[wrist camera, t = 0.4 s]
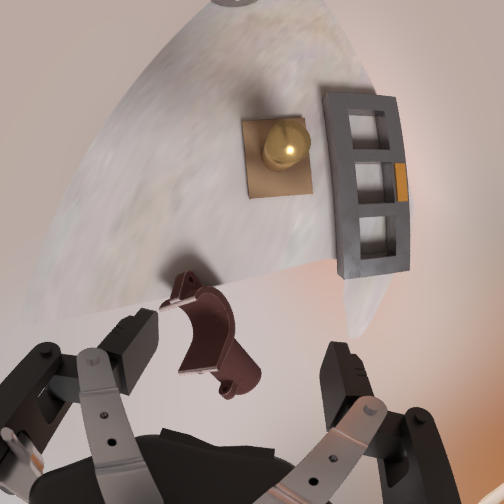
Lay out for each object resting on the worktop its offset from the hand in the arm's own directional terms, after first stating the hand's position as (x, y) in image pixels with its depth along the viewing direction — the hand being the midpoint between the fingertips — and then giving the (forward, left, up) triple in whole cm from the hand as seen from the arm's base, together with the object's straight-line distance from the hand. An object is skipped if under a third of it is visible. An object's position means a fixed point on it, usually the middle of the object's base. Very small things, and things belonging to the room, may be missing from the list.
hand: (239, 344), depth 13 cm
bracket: (+11, -6, -26) cm, 28 cm away
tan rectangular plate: (-11, +5, -25) cm, 28 cm away
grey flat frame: (-7, +17, -25) cm, 32 cm away
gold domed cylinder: (-11, +5, -24) cm, 27 cm away
